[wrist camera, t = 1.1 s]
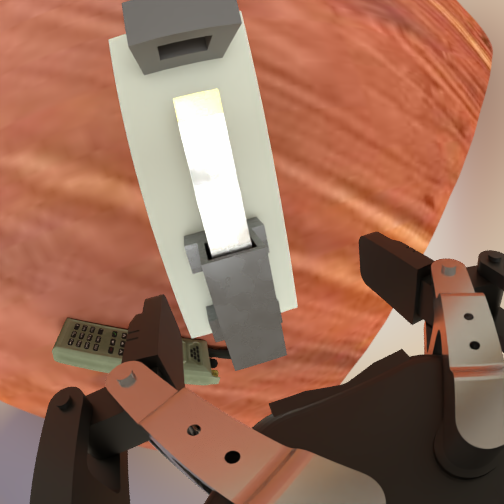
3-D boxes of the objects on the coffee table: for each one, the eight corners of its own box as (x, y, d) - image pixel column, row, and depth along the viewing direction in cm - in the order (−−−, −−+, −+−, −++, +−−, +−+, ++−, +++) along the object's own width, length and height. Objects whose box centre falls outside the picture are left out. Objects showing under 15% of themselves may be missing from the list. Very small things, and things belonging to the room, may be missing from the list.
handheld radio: (66, 312, 33) (248, 340, 40) (67, 332, 34) (242, 357, 41) (51, 345, 27) (259, 374, 34) (54, 365, 28) (252, 391, 35)
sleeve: (212, 326, 36) (222, 374, 28) (183, 236, 31) (185, 269, 23) (274, 307, 37) (298, 350, 29) (256, 216, 32) (281, 242, 24)
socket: (144, 75, 24) (128, 46, 15) (138, 42, 23) (121, 3, 14) (222, 57, 25) (242, 23, 16) (215, 25, 24) (231, -19, 15)
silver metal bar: (234, 335, 32) (240, 354, 29) (174, 104, 22) (173, 98, 19) (264, 326, 32) (273, 345, 29) (213, 95, 23) (217, 88, 20)
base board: (190, 331, 37) (191, 338, 36) (111, 43, 23) (108, 39, 22) (293, 301, 39) (297, 307, 38) (238, 15, 25) (241, 10, 24)
